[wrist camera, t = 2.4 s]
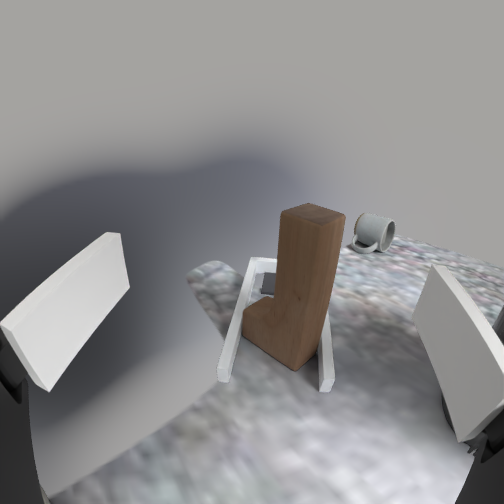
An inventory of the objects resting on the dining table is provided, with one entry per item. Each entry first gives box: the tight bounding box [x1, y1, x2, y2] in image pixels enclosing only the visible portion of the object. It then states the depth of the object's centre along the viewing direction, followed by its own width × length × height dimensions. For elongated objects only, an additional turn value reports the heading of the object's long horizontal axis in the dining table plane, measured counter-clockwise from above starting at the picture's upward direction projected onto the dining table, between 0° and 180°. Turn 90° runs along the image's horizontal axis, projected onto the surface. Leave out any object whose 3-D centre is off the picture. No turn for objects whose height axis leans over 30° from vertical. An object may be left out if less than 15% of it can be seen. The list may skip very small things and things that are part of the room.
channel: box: [217, 257, 335, 392], centre depth 38 cm, size 12×25×2 cm, turn 172°
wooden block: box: [242, 203, 346, 371], centre depth 29 cm, size 9×4×18 cm, turn 45°
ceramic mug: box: [352, 213, 395, 254], centre depth 58 cm, size 11×8×8 cm
